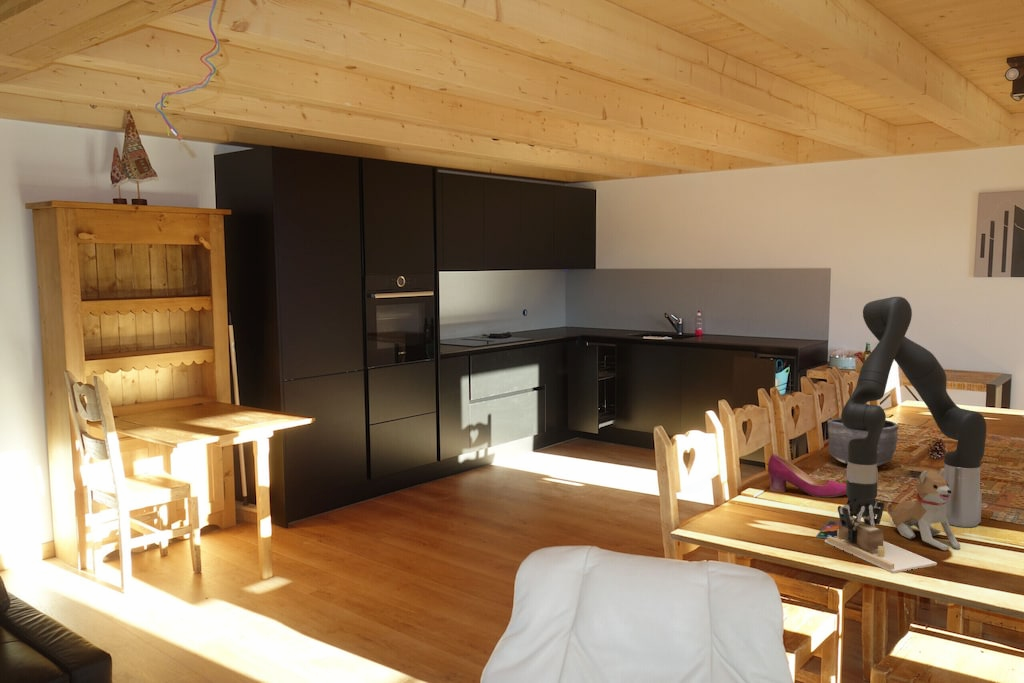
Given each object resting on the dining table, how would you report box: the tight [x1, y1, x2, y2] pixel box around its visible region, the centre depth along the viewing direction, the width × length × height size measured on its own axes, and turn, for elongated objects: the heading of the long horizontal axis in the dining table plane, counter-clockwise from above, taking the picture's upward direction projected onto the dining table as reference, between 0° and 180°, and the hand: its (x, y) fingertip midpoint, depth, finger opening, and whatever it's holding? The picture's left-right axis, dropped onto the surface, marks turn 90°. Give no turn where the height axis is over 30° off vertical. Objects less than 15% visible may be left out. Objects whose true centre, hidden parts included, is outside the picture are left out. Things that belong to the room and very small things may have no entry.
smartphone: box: [816, 520, 839, 540], centre depth 228 cm, size 8×1×15 cm
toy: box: [886, 467, 961, 551], centre depth 222 cm, size 10×24×20 cm, turn 16°
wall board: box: [824, 529, 938, 574], centre depth 211 cm, size 14×24×3 cm, turn 20°
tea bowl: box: [826, 417, 899, 467], centre depth 300 cm, size 25×22×17 cm
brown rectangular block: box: [838, 519, 884, 551], centre depth 214 cm, size 11×4×5 cm, turn 20°
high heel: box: [767, 453, 847, 498], centre depth 266 cm, size 26×9×12 cm, turn 61°
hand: (860, 541), depth 214 cm, fingers closed on brown rectangular block, 4 cm apart
